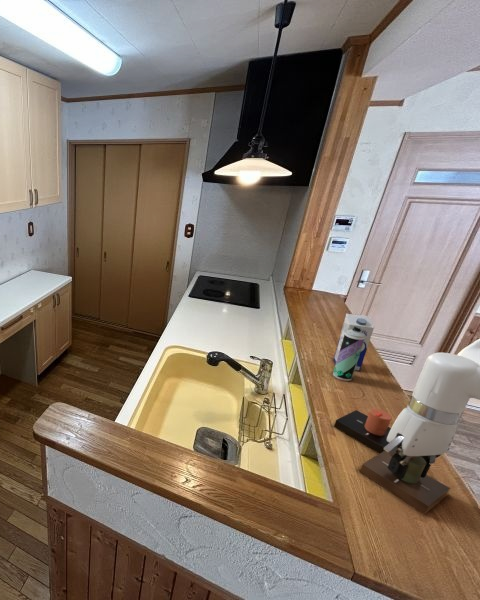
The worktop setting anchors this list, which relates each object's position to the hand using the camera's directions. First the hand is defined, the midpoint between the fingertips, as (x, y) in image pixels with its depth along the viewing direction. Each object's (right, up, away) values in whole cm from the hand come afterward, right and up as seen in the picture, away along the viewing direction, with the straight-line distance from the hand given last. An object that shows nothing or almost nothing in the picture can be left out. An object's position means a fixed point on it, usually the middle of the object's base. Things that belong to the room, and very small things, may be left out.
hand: (405, 472), depth 75 cm
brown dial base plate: (0, -3, +1) cm, 3 cm away
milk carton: (+27, +15, +50) cm, 59 cm away
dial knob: (+6, +4, +14) cm, 16 cm away
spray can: (+20, +12, +42) cm, 48 cm away
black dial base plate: (+6, +2, +15) cm, 16 cm away
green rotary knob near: (0, -1, 0) cm, 1 cm away
